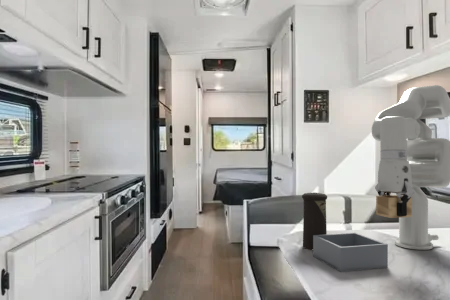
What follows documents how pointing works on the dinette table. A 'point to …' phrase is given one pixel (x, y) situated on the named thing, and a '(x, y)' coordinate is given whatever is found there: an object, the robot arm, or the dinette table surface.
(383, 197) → the wooden crate
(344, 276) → the dinette table surface
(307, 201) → the container
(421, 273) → the dinette table surface
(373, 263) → the grey crate
